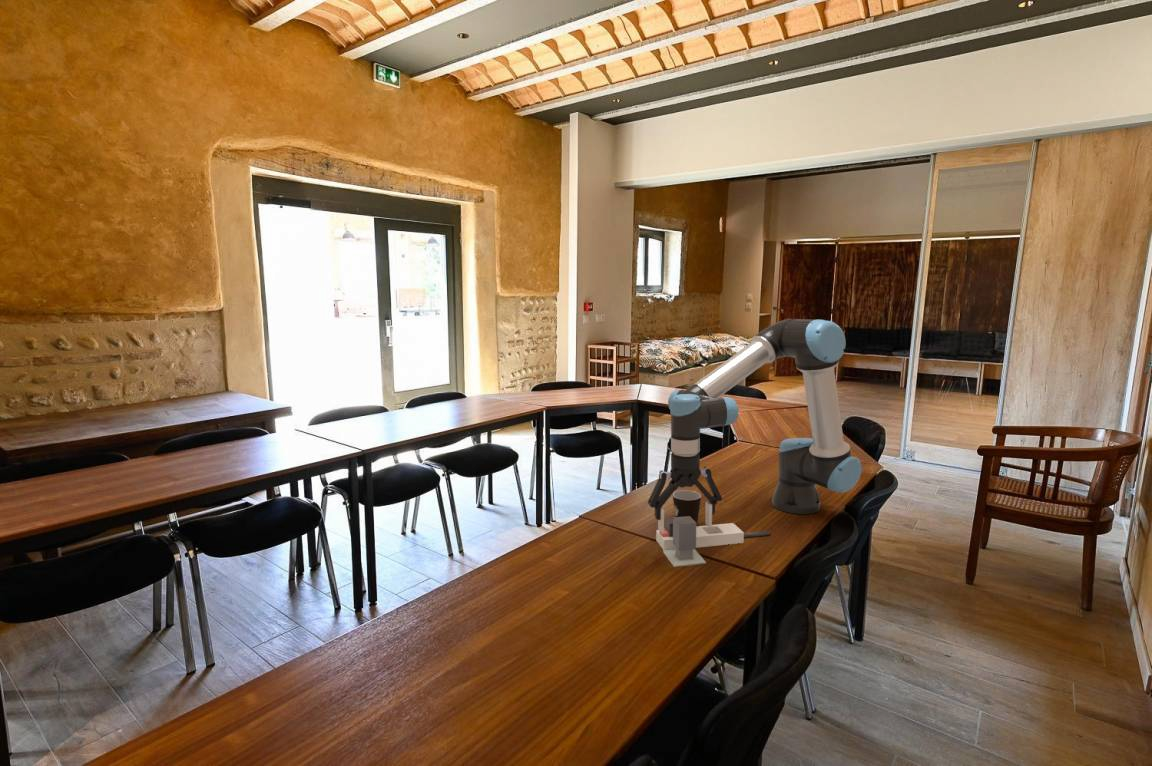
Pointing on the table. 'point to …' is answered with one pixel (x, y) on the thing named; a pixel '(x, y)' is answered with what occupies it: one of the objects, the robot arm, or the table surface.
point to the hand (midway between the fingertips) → (685, 527)
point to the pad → (677, 562)
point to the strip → (707, 535)
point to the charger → (684, 537)
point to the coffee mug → (687, 504)
